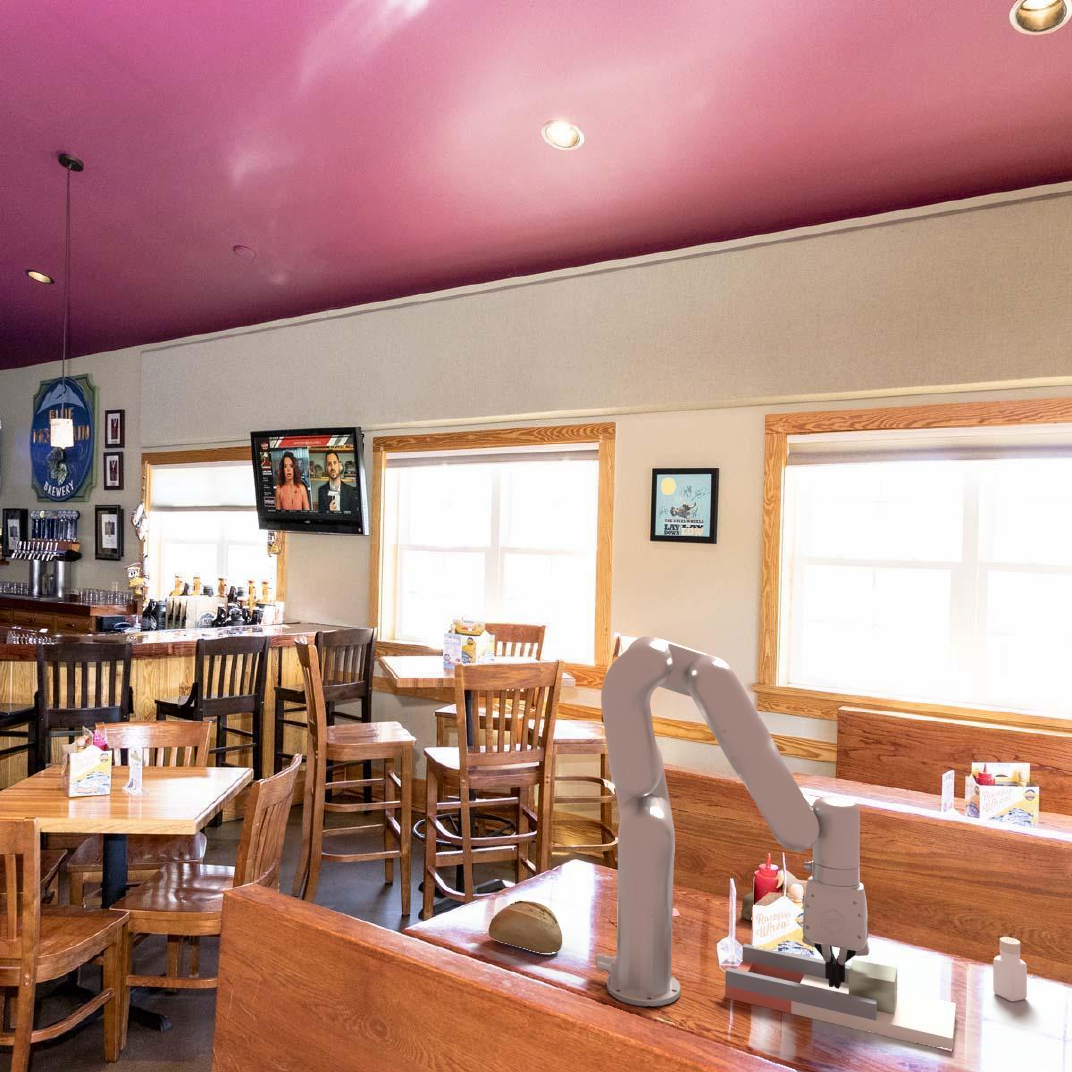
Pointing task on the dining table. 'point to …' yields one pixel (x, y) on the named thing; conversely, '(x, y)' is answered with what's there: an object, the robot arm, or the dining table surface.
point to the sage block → (874, 984)
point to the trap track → (835, 998)
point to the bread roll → (527, 927)
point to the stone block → (747, 906)
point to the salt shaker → (1010, 971)
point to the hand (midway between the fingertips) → (835, 984)
